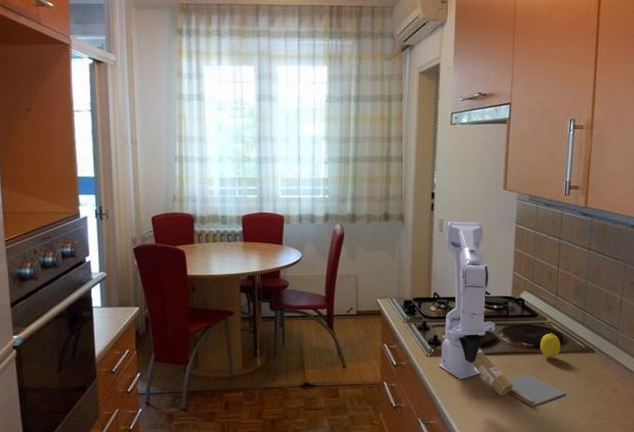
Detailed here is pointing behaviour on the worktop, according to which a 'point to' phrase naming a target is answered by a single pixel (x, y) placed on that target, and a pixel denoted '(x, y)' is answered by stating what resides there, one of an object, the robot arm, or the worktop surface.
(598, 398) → the worktop surface
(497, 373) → the sprinkles bottle
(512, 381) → the mat
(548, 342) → the lemon
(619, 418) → the worktop surface
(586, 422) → the worktop surface
